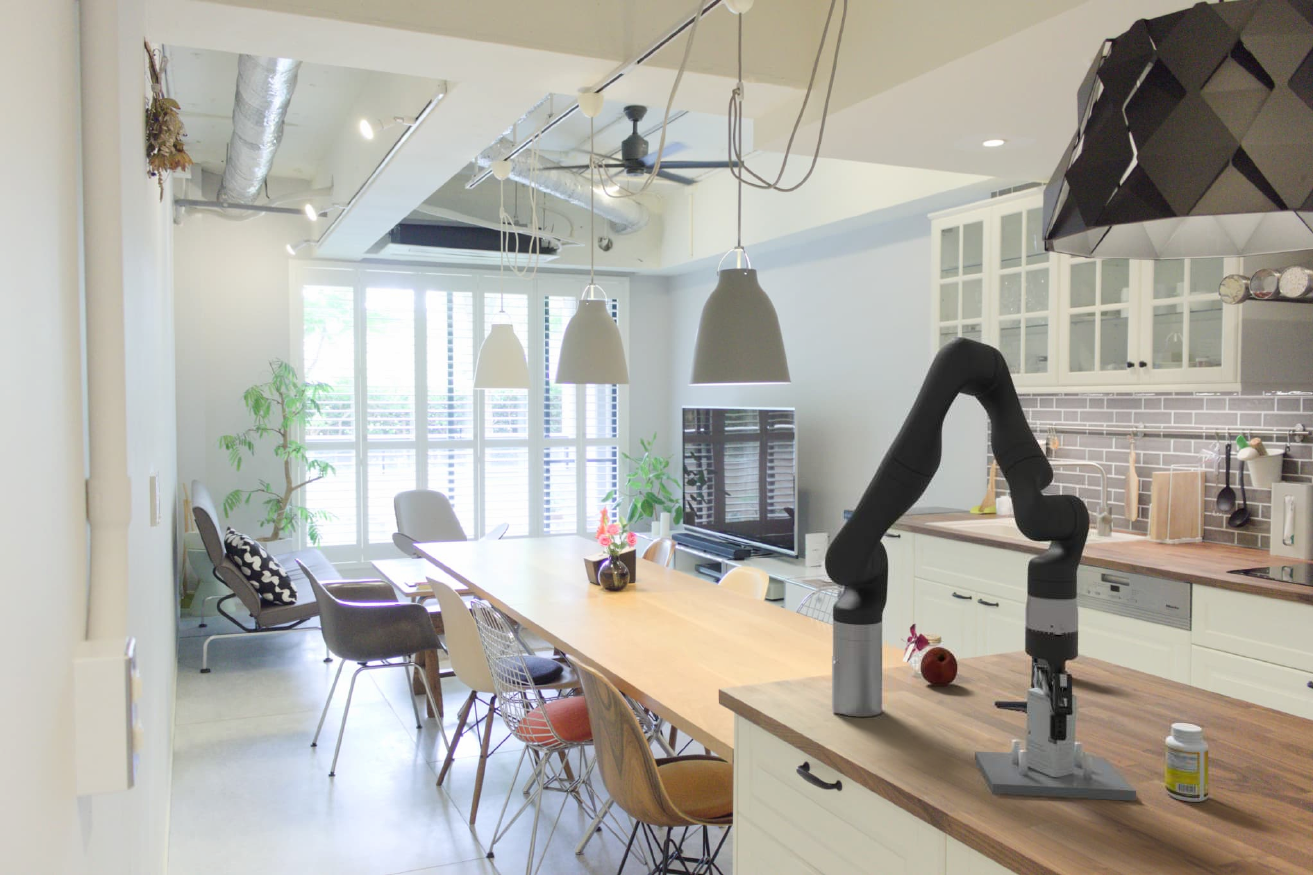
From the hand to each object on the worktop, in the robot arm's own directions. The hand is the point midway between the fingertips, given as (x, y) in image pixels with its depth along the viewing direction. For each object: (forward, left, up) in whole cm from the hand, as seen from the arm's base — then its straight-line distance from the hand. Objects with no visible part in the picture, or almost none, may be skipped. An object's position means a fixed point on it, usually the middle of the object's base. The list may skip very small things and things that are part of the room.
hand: (1050, 730), depth 148 cm
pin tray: (0, 0, -8) cm, 8 cm away
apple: (-9, +52, -8) cm, 53 cm away
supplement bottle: (+18, -4, -8) cm, 20 cm away
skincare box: (0, 0, -6) cm, 6 cm away
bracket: (+7, +32, -8) cm, 34 cm away
